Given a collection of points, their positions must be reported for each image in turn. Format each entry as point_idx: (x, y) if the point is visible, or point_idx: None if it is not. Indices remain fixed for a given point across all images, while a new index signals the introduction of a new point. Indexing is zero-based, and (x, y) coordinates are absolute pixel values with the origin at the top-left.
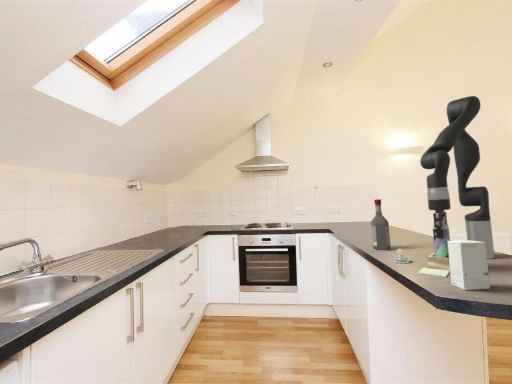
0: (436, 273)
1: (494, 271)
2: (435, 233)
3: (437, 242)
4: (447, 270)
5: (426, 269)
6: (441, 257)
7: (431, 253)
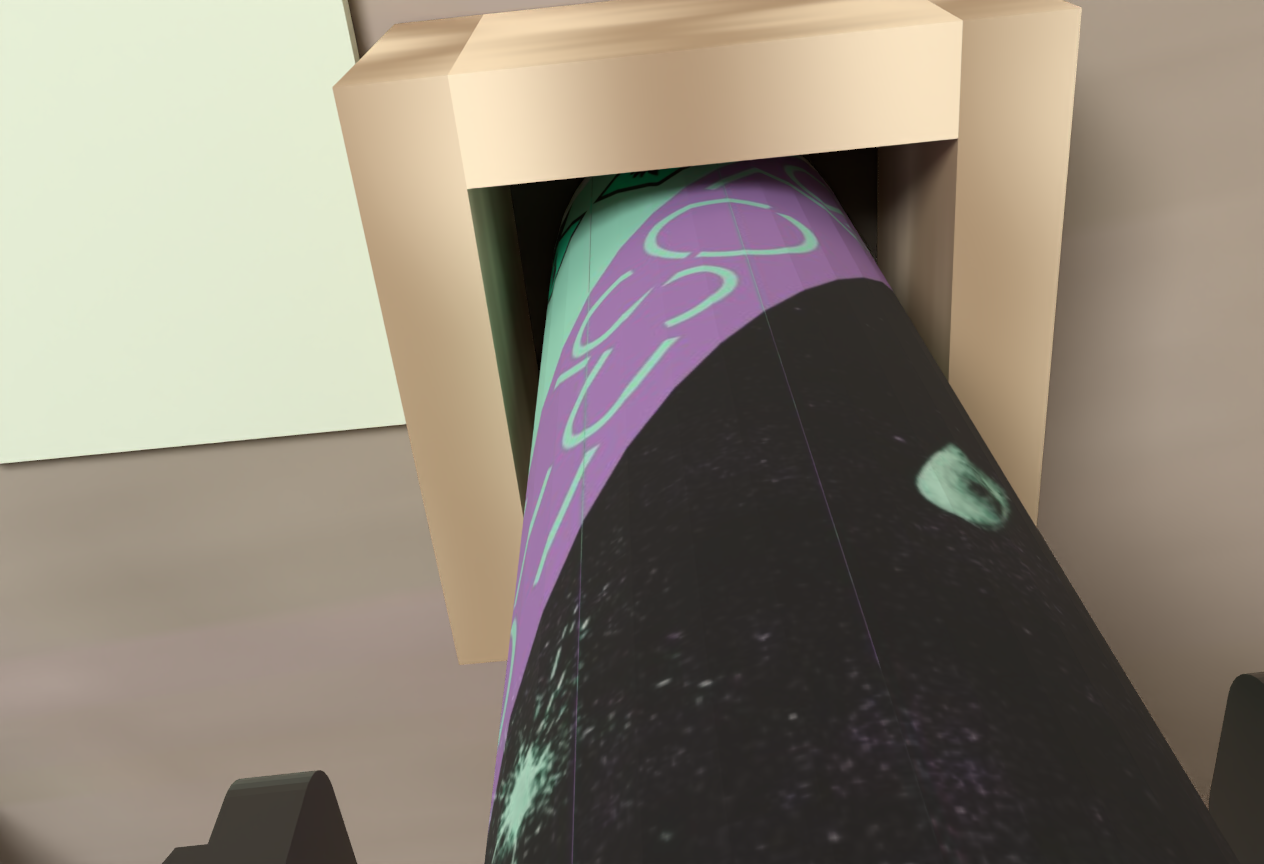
0: (16, 305)
1: None
2: (525, 810)
3: (527, 558)
4: None
5: (196, 47)
6: (450, 408)
7: (928, 35)
